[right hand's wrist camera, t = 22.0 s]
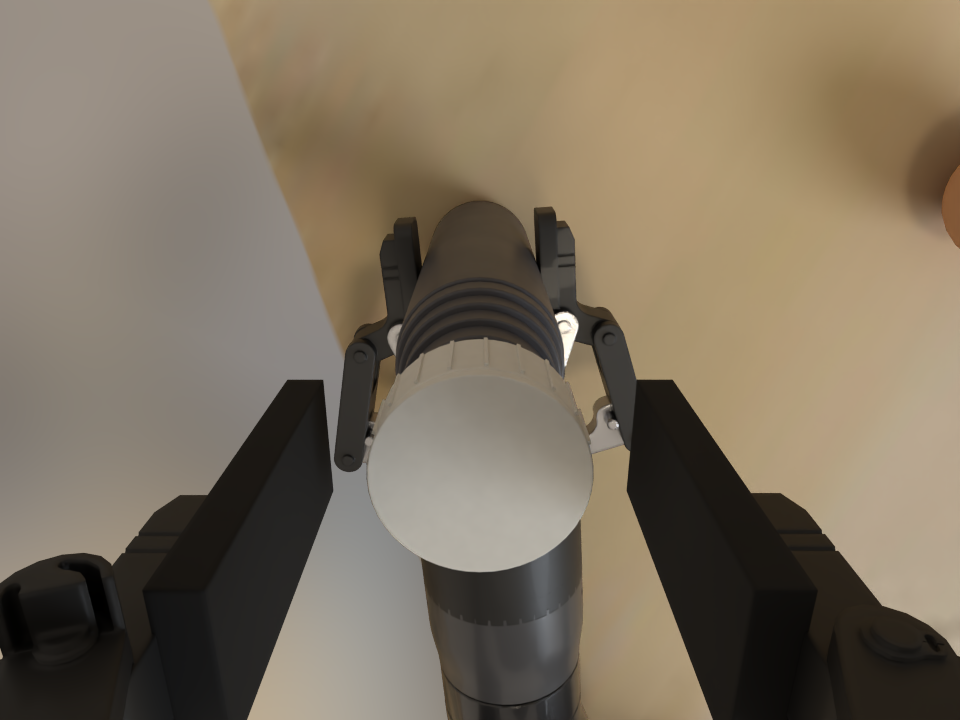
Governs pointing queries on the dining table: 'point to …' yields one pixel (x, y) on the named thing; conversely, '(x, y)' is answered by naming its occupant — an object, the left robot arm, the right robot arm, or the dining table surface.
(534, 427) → the cap
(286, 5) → the dining table surface
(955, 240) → the egg
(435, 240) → the bottle
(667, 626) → the dining table surface
